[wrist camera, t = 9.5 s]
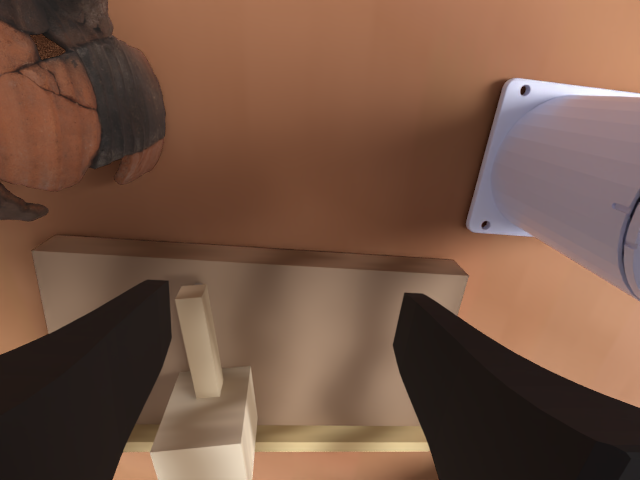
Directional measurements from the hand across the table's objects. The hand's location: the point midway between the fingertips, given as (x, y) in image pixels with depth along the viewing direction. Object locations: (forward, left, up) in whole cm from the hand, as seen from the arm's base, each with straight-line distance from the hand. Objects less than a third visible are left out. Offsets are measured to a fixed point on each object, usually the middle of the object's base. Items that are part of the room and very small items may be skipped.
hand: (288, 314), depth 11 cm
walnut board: (+1, +8, -9) cm, 12 cm away
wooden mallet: (+4, +8, -7) cm, 11 cm away
